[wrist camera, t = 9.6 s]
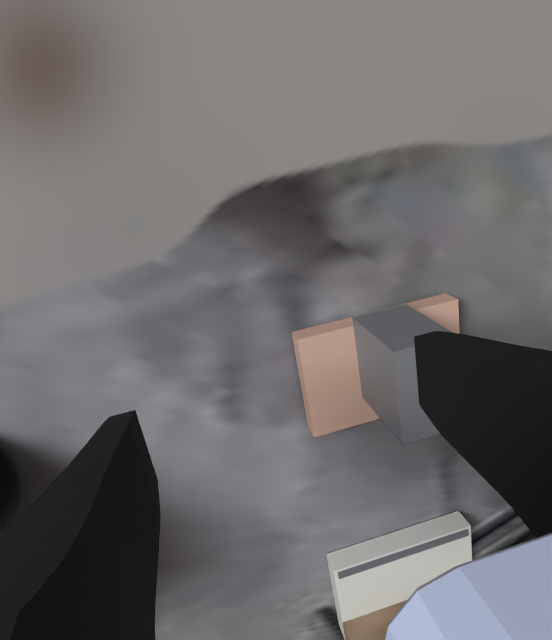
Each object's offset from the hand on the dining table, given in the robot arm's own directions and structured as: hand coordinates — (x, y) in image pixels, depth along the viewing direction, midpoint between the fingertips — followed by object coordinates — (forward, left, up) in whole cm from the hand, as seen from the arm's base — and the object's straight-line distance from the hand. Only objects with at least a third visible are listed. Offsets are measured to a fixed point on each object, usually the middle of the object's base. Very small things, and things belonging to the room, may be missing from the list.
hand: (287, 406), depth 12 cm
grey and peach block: (-6, +4, -9) cm, 12 cm away
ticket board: (-6, +18, -9) cm, 21 cm away
